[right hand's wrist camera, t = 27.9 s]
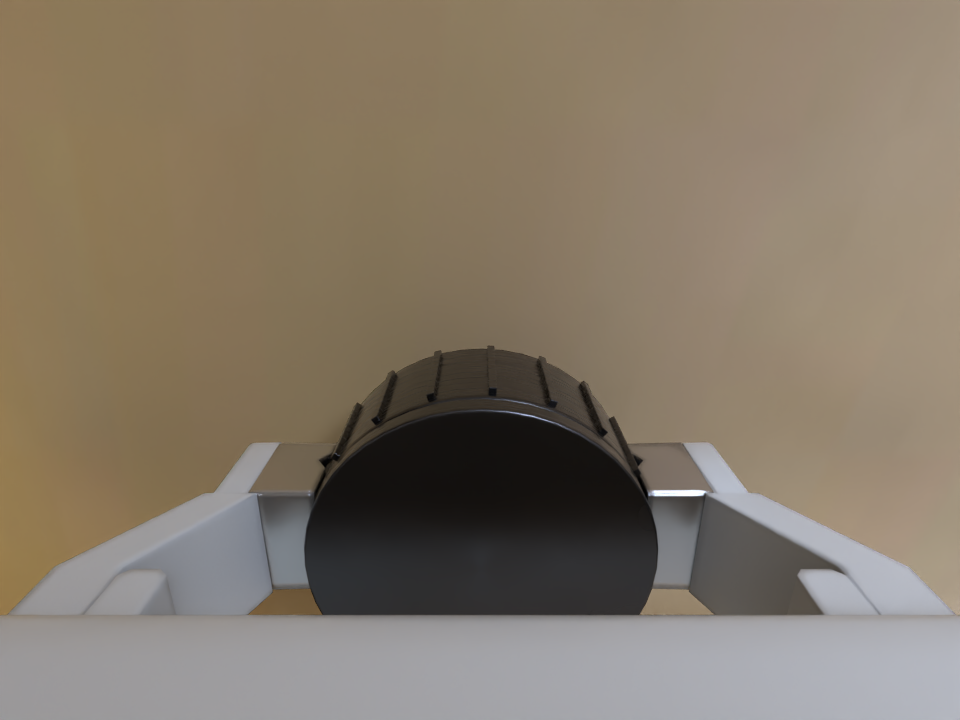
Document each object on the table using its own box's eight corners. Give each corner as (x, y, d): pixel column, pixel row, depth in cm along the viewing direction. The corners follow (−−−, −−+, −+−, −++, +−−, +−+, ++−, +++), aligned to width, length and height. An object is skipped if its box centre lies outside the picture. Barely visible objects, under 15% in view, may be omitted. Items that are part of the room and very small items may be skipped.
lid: (543, 285, 9) (562, 332, 7) (672, 523, 11) (719, 620, 9) (276, 430, 10) (222, 511, 8) (433, 628, 12) (423, 738, 10)
